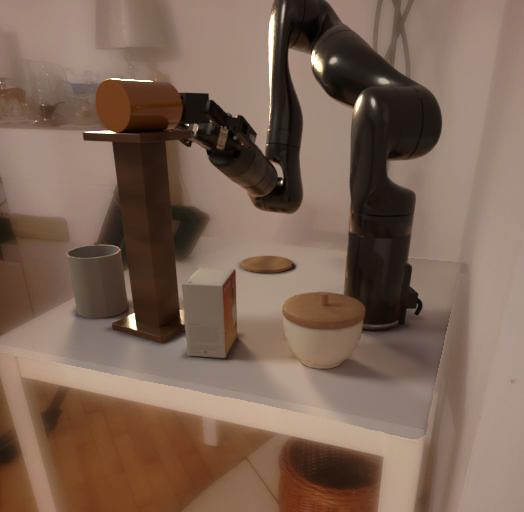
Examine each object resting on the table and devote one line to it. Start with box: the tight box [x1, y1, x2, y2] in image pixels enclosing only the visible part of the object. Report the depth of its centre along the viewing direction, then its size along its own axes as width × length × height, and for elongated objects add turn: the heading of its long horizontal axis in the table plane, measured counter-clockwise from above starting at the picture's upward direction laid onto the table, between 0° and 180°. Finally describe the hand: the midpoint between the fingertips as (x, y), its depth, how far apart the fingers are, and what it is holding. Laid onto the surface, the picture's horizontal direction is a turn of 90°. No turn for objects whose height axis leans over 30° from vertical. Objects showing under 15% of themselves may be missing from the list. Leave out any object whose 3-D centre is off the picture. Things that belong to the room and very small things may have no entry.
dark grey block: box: [178, 92, 211, 125], centre depth 72 cm, size 6×4×4 cm
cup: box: [65, 244, 129, 319], centre depth 81 cm, size 8×8×10 cm
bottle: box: [94, 78, 184, 133], centre depth 67 cm, size 17×6×6 cm, turn 149°
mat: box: [241, 255, 293, 274], centre depth 106 cm, size 11×11×1 cm
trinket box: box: [281, 291, 365, 370], centre depth 65 cm, size 11×11×9 cm
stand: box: [82, 130, 191, 344], centre depth 71 cm, size 10×10×28 cm
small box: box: [181, 266, 238, 359], centre depth 68 cm, size 8×6×10 cm
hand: (184, 106), depth 72 cm, fingers open, 8 cm apart
